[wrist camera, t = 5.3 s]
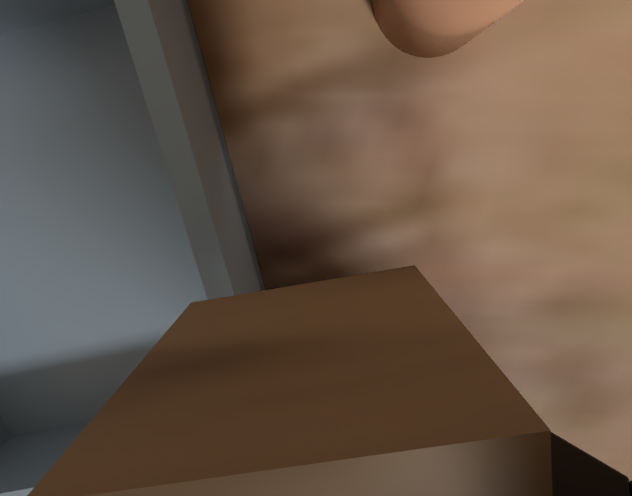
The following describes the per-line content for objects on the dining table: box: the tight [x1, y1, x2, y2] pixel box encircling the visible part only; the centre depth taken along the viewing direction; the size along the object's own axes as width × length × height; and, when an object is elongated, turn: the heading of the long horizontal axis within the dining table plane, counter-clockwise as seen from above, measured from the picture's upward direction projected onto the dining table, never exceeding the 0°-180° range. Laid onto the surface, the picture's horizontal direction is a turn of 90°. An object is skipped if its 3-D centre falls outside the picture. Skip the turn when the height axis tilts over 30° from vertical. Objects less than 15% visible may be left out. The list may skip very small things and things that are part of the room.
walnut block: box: [27, 265, 553, 496], centre depth 7 cm, size 5×5×5 cm
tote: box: [0, 0, 265, 496], centre depth 16 cm, size 20×16×5 cm
